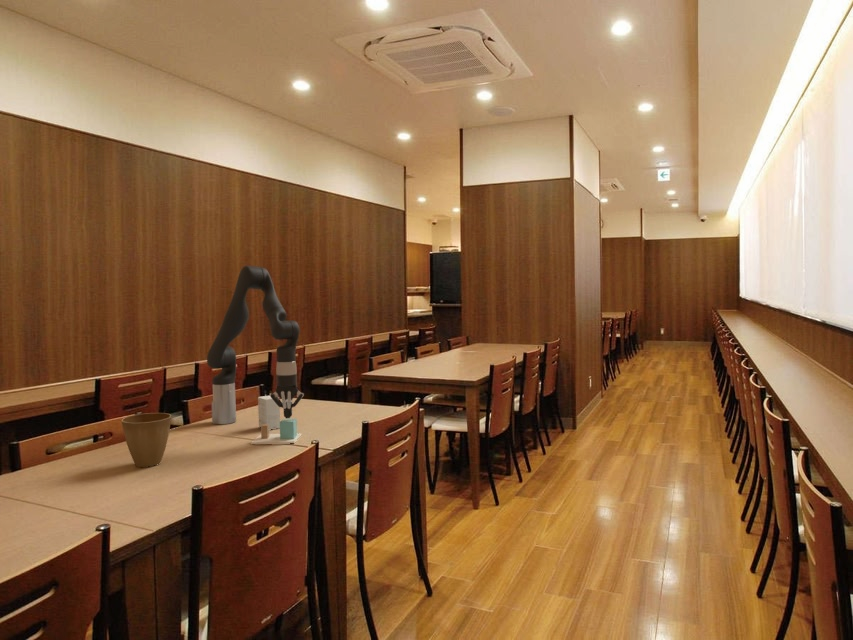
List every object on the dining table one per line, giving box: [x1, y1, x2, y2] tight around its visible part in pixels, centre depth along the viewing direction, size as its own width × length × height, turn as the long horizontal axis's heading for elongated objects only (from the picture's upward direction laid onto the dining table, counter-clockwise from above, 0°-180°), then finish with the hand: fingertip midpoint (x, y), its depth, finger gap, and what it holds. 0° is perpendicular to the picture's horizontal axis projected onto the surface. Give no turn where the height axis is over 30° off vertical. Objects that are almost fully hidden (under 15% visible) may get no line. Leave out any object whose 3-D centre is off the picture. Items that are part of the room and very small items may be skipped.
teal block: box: [279, 418, 298, 439], centre depth 217 cm, size 5×5×7 cm
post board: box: [251, 424, 302, 445], centre depth 217 cm, size 16×12×6 cm
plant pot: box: [121, 412, 172, 468], centre depth 189 cm, size 15×15×16 cm
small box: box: [257, 394, 281, 431], centre depth 237 cm, size 8×6×13 cm
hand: (287, 417), depth 217 cm, fingers closed
